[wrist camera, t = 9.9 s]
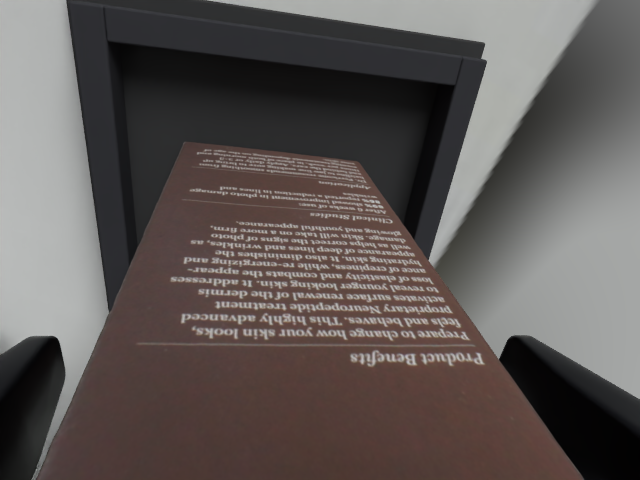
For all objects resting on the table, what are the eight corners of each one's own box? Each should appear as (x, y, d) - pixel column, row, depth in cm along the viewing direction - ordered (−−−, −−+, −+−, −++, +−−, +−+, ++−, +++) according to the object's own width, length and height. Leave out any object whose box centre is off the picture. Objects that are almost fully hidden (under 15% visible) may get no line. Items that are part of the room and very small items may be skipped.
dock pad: (116, 329, 16) (102, 361, 15) (71, -20, 11) (41, -26, 9) (397, 328, 19) (410, 357, 17) (477, 42, 13) (507, 45, 12)
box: (181, 260, 15) (18, 852, 4) (183, 136, 13) (-122, 697, 2) (342, 270, 16) (515, 746, 6) (367, 159, 14) (714, 585, 4)
